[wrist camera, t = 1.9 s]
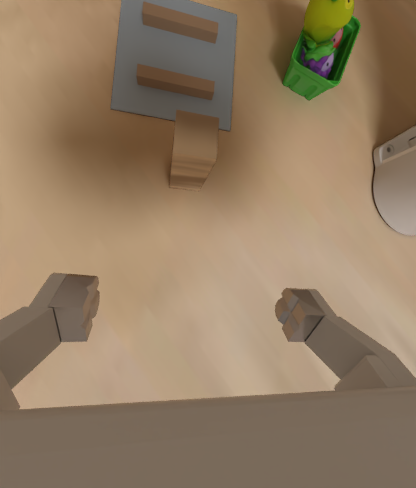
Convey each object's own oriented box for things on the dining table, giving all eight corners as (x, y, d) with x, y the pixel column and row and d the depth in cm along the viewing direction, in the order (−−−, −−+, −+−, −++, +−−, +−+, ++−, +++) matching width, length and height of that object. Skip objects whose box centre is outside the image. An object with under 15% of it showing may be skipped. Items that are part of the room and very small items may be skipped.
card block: (199, 191, 30) (216, 159, 20) (169, 187, 29) (172, 152, 20) (200, 162, 30) (219, 117, 21) (171, 158, 30) (176, 109, 20)
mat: (230, 131, 32) (233, 124, 30) (110, 108, 28) (107, 99, 27) (236, 15, 33) (240, 3, 31) (123, -18, 30) (121, -34, 28)
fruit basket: (313, 112, 35) (383, 44, 24) (264, 82, 33) (316, -5, 22) (335, 54, 36) (410, -34, 25) (289, 24, 35) (349, -84, 24)
